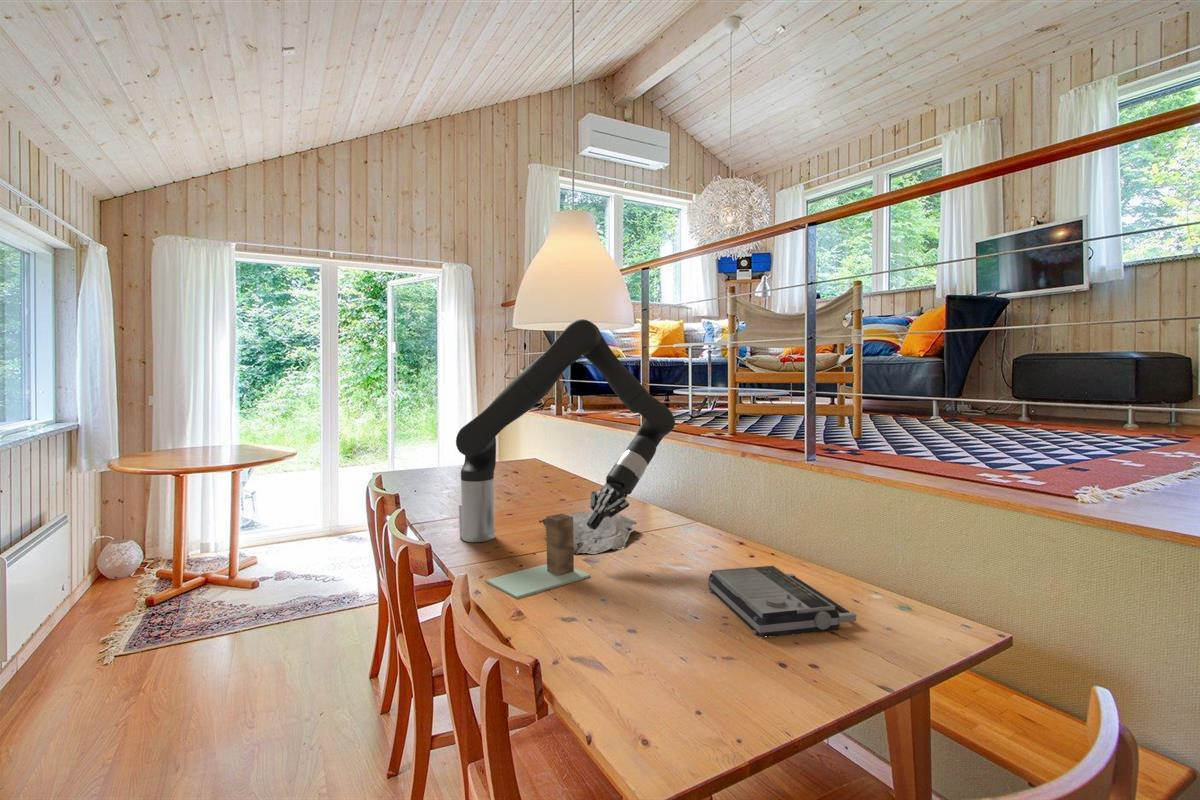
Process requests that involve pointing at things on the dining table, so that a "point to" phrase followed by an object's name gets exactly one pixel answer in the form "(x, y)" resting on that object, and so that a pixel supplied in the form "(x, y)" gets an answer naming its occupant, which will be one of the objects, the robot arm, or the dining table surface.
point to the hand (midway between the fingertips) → (590, 527)
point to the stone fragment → (599, 533)
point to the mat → (533, 581)
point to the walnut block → (560, 544)
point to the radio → (776, 601)
